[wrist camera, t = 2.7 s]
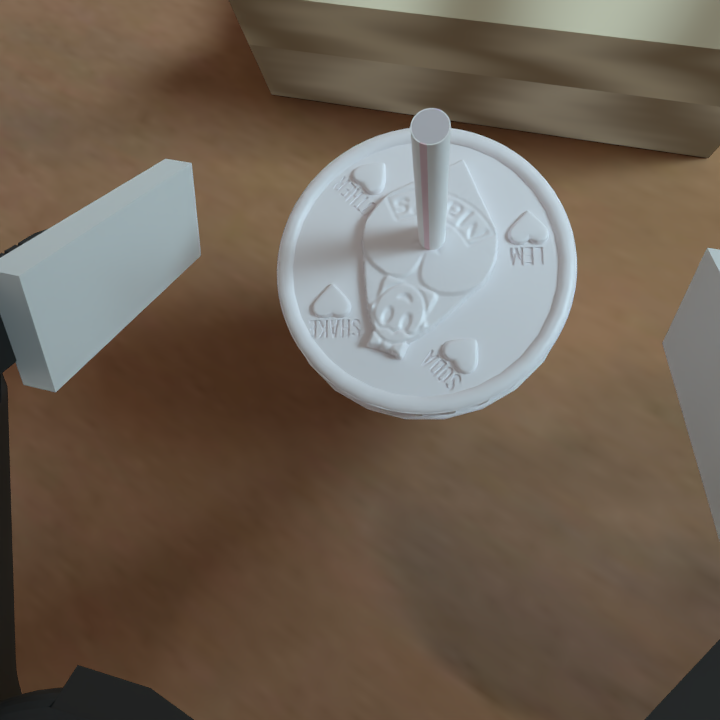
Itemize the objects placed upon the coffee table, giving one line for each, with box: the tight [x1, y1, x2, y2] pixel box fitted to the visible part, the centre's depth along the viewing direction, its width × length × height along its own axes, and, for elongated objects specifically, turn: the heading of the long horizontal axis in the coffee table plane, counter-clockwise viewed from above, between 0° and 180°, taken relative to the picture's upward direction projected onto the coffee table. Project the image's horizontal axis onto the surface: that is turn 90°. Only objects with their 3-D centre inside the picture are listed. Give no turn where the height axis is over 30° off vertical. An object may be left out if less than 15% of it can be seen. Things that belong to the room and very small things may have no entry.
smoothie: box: [277, 108, 577, 419], centre depth 15 cm, size 6×6×14 cm
